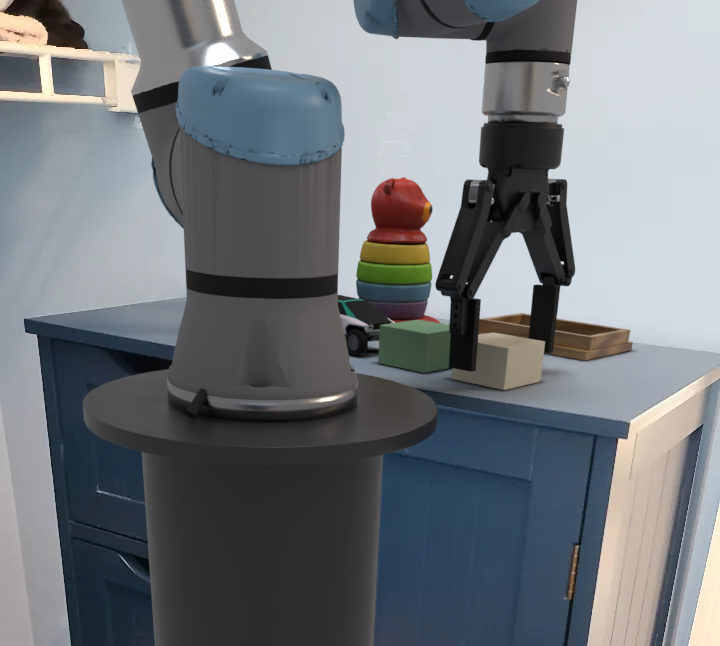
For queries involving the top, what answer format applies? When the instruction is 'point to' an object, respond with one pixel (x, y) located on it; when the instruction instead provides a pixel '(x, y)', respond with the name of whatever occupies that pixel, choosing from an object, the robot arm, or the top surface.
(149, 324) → the top surface
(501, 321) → the frame
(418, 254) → the stacking bear
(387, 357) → the sage block
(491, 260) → the robot arm
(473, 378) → the beige block
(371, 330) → the toy car
